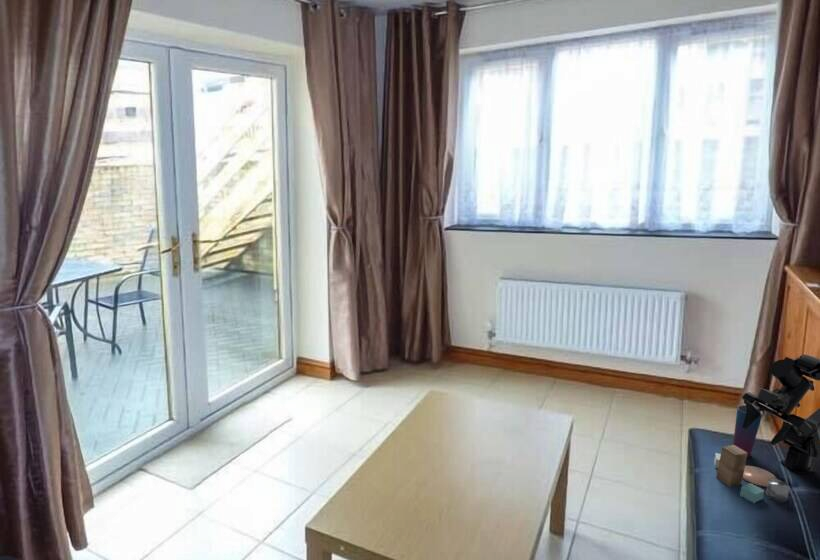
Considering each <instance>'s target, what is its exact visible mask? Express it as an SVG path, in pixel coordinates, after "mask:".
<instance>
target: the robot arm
mask: <svg viewBox="0 0 820 560" xmlns="http://www.w3.org/2000/svg"><path fill="white" fill-rule="evenodd" d="M769 373H770V374H771V376H772V377H773V378H774V379H775V380H776V381H777V382H778V383H779V384H780V385H781V386H780V388H774V389H773V390H772V391H771V390H768V389H765V388H762V387H761V388H760V390H759V391H758V394H757V395H755V394H754V393H752V392H750V391H749V392H745V393H744V394H743V395H742V396H741V399H742V401H743V403H744V405H746V409H747V410H746V415H745V419H744V423H743V428H744V429H746V428H747V427H749V426H750V425H751V424H752V423H753V422H754V421H755V420H756V419H757V418H758V417H759V416H760V415H761V413H760V412H759V411H762V412H763V411H764V412H766V413H768V414H770V415H773V416H775V417H777V418H778V419H780V420H782V425H781V427H780V429H779V430H778V432H776V433H775V435H774V436H773V437H772V438H771V441H770V443H769V444H770V445H771V446H775V445H777V444H779V443H782V442H783V444H785V445H787V446H788V448H787V452H786V455H785V459H784V460H780V464H782V465H784V466H785V467H787V468H789V469H790V470H792V471H793V472H795V473H797V474H807V473H812V472H814V473H815V472H816V468H815V469H814V468H813V467H811V466H812V463H813V458H819V456H820V407H819V408H818V409H816V410H815V411H814V412H813V413H811V414H810V415H808V417H806V418H803V417H801V416H800V415H796V414H794V413H792V412H793V411H794V409H795V408H796V407H797V408H799V407H801V403H800V402H801V401H802V399H803V398H804V397H805V395H806V394H807V393H808V391H812V392H815V385H814V381H813V380H815V381H820V358H819V357H815V356H813V355H810V354H809V355H808V354H801V355H799V357H795V358H794V359H793V358H790V357H788V356H785V357H784V358H783V359H779V360H778V359H777V360H775V361H774V362H771V364H770V365H769ZM809 378H810V379H809ZM811 379H813V380H811ZM791 413H792V414H791Z"/></svg>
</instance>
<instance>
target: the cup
mask: <svg viewBox="0 0 820 560" xmlns="http://www.w3.org/2000/svg"><path fill="white" fill-rule="evenodd" d="M736 409H737V410H736V418H735V425H734V427H735V428H734V433H733V440H732V441H733V443H732V445H735V446H737V447H739V448H740V449H742V450H744V451H745V452H747V453H748V454H747V457H748V458H750V457H751V455H752V452H753V448H754V446H755V443H756V442H755V441H756V438H757V434H758V431H759V428H760V424H761V421H762V418H763V411H759V412H760V413H761V415H760V416H759V417H758V418H757V419H756V420H755V421H754V422H753V423H752V424H751V425H750V426H749V427H747V428H746V429H744V428H743V423H744V419H745V415H746V410H747V409H746V404H743V405H741V404H739V405H738V406H737V408H736Z"/></svg>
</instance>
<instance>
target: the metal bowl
mask: <svg viewBox="0 0 820 560" xmlns="http://www.w3.org/2000/svg"><path fill="white" fill-rule="evenodd" d="M790 488H791V486H790V485H789V484H788V483H787V482H785V481H783V480H781V479H778V478H777V479H769V481H768V485H767V487H766V491H765V495H766V497H767V498H769V497H770V498H771V500H772V499H773V500H772V501H774V500H775V502H778V503H785V502H787V501H788V498H789V492H790ZM770 498H769V499H770Z"/></svg>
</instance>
